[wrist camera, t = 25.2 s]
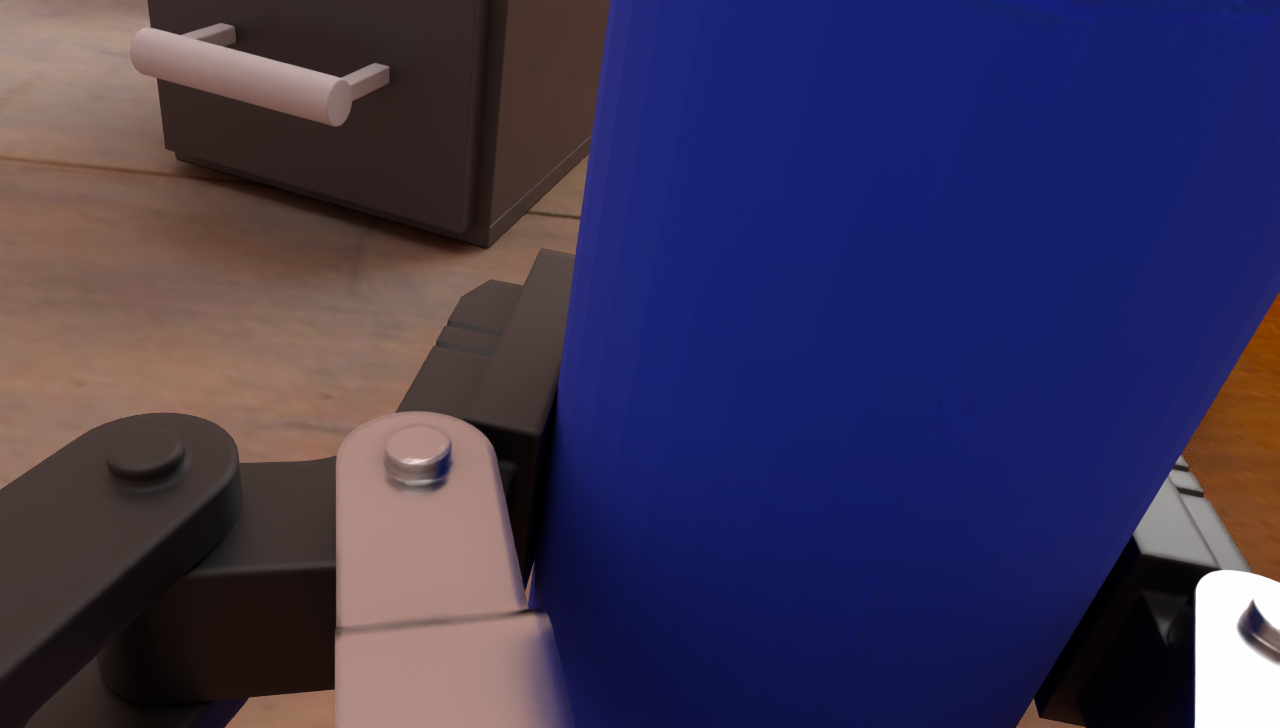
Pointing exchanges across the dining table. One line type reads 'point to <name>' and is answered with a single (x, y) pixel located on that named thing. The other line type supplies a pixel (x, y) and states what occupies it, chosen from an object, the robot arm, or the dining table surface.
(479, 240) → the small drawer unit
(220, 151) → the drawer with bar handle
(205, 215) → the dining table surface
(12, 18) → the dining table surface
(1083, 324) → the beverage can
